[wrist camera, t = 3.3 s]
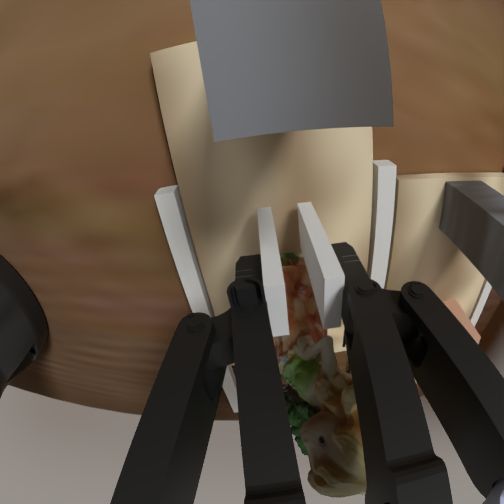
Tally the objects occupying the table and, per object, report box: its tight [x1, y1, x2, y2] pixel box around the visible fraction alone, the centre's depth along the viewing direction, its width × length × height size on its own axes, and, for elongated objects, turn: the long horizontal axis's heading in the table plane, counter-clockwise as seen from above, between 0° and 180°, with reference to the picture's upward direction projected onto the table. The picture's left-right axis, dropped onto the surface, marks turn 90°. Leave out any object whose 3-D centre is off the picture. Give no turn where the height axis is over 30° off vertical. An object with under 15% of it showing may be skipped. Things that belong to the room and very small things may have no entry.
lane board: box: [154, 160, 492, 413], centre depth 23 cm, size 27×25×1 cm
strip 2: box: [384, 173, 504, 383], centre depth 18 cm, size 11×22×11 cm, turn 8°
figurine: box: [273, 253, 367, 497], centre depth 15 cm, size 9×8×15 cm
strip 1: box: [150, 0, 393, 366], centre depth 14 cm, size 11×22×11 cm, turn 8°
